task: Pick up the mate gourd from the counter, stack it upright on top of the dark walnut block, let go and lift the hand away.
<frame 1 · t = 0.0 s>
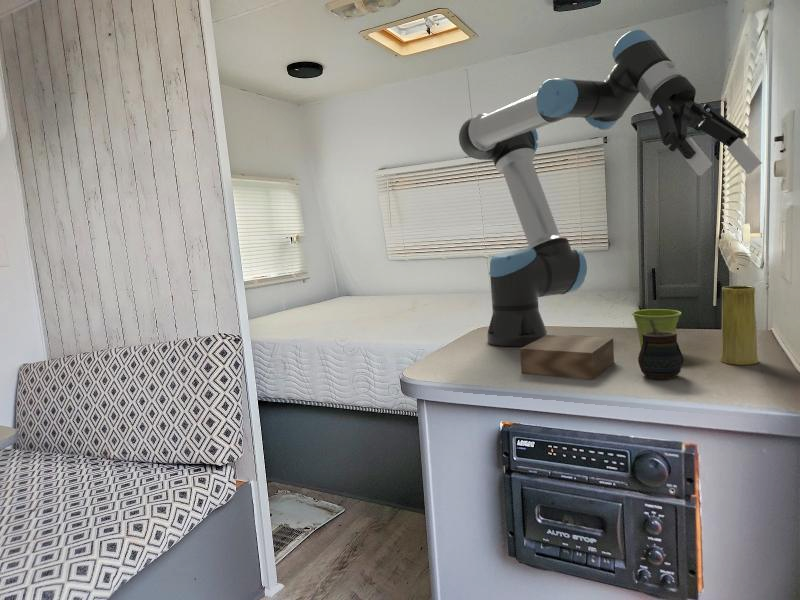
hand: (730, 169, 93), 36 cm above the worktop, tool tilted 35°, fingers open, 13 cm apart
plant pot: (657, 353, 112), on the worktop
vase: (739, 362, 99), on the worktop
mate gourd: (659, 377, 94), on the worktop
walnut block: (568, 367, 105), on the worktop
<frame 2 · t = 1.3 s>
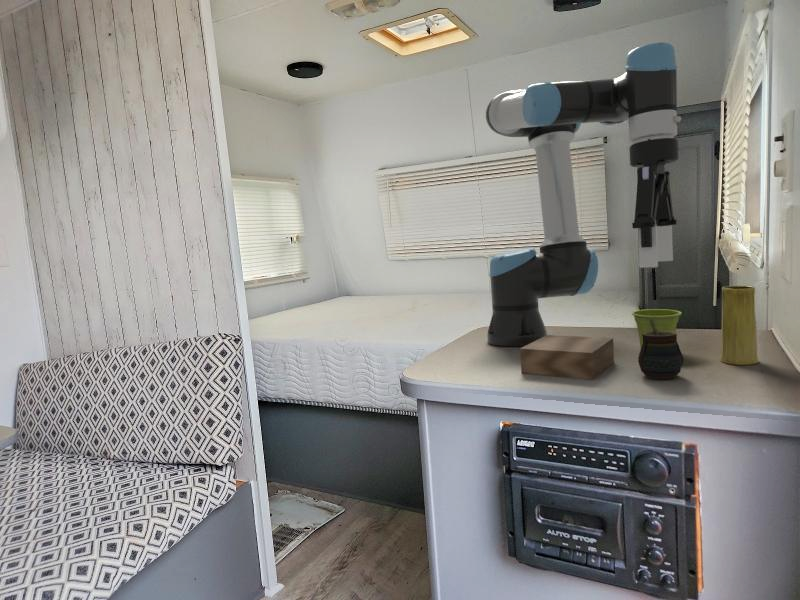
hand: (657, 264, 92), 20 cm above the worktop, tool pointing down, fingers open, 13 cm apart
nothing on the worktop moved.
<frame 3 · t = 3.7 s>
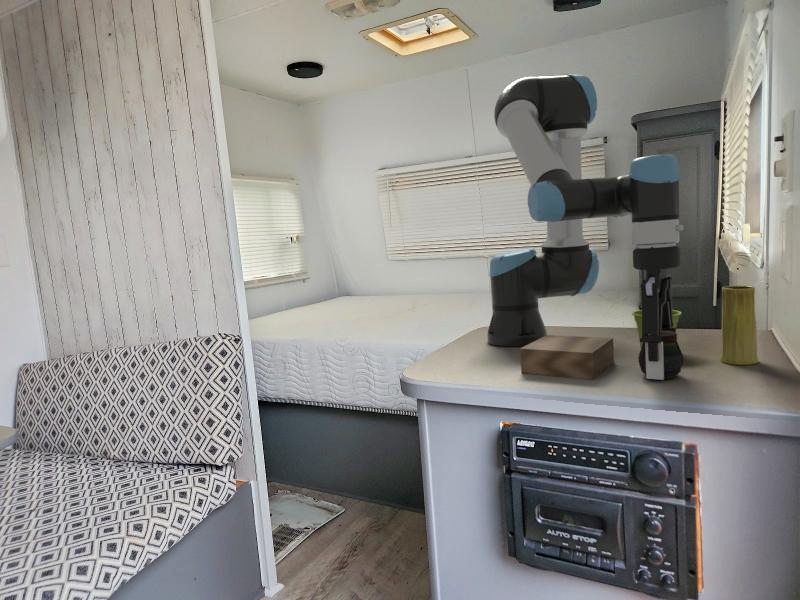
hand: (659, 372, 94), 1 cm above the worktop, tool pointing down, fingers closed on mate gourd, 7 cm apart
mate gourd: (660, 377, 94), on the worktop, touching gripper
everything else where it was.
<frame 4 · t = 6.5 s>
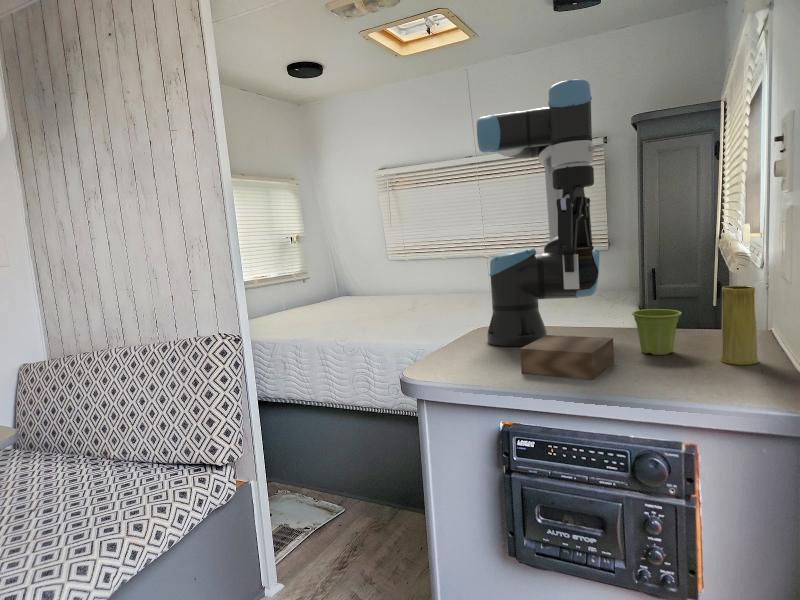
hand: (577, 285, 102), 16 cm above the worktop, tool pointing down, fingers closed on mate gourd, 7 cm apart
mate gourd: (578, 289, 102), point 16 cm above the worktop, touching gripper
everything else where it was.
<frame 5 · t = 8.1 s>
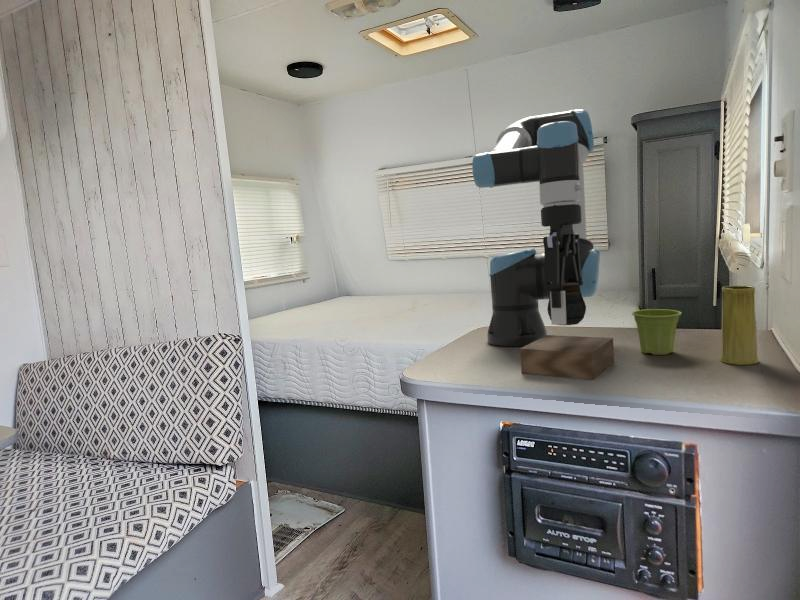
hand: (566, 320, 104), 10 cm above the worktop, tool pointing down, fingers closed on mate gourd, 7 cm apart
mate gourd: (566, 324, 104), point 9 cm above the worktop, touching gripper
everything else where it was.
when the fingers open (7 cm above the worktop, at t = 9.4 s): mate gourd drops 1 cm, resting on walnut block.
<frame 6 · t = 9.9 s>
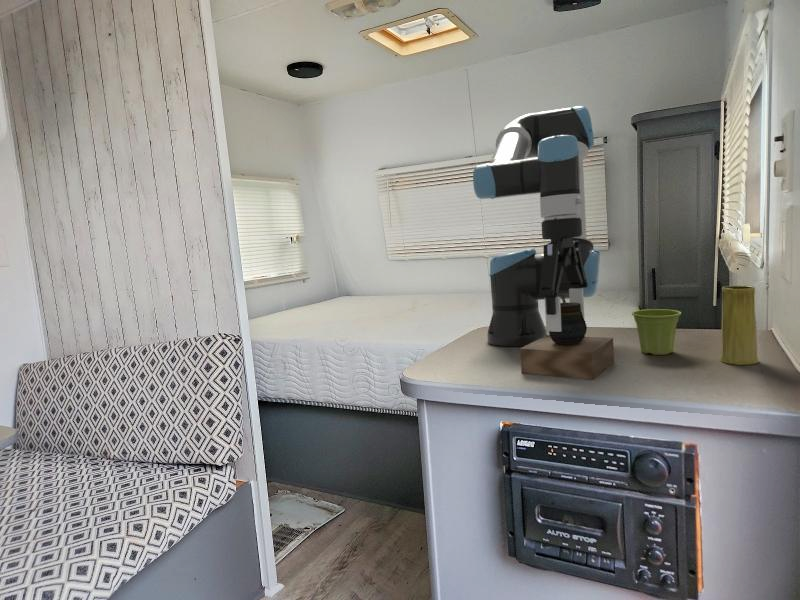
hand: (566, 325, 104), 9 cm above the worktop, tool pointing down, fingers open, 13 cm apart
mate gourd: (567, 343, 105), point 5 cm above the worktop, touching walnut block
everything else where it was.
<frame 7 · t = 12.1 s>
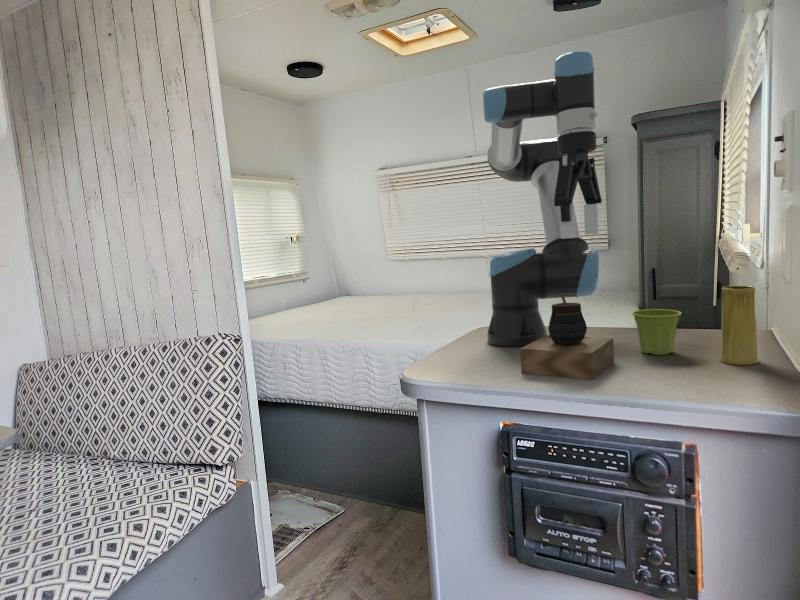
hand: (580, 236, 111), 26 cm above the worktop, tool pointing down, fingers open, 13 cm apart
nothing on the worktop moved.
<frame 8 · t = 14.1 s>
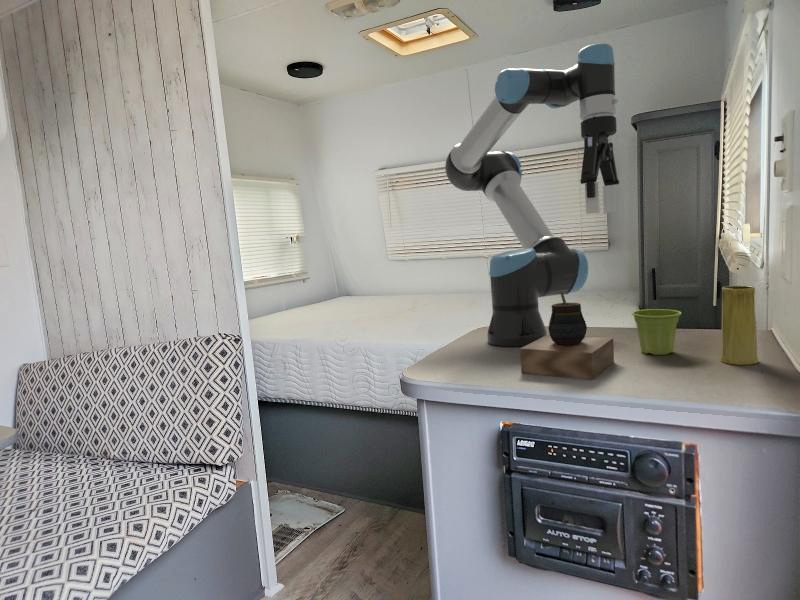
hand: (601, 213, 120), 31 cm above the worktop, tool pointing down, fingers open, 13 cm apart
nothing on the worktop moved.
at the end: mate gourd inside the target area on the walnut block (0.1 cm from its centre), point 4.8 cm above the walnut block's base; mate gourd touching walnut block; mate gourd tilted 0° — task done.
